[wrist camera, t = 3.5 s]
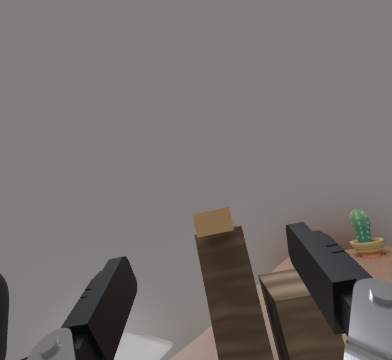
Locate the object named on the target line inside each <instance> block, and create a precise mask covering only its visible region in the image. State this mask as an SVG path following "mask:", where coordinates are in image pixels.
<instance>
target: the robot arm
mask: <svg viewBox="0 0 392 360" xmlns="http://www.w3.org/2000/svg"><path fill="white" fill-rule="evenodd" d="M286 234H287V242H288V250H289V256H290V259H291V262H292V264H293V266H294V268H295V269H296V271H297V273H298V274H299V276H300V278H301V279H302V281H303V283H304V284H305V286H306V288H307V289H308V291H309V293H310V294H311V296H312V298H313V299H314V301H315V303H316V304H317V306H318V308H319V309H320V311H321V313H322V314H323V316H324V318H325V319H326V321H327V323H328V324H329V326H330V328H331V329H332V331H333V333H334V334H335V335H336V334H343V333H346V335H347V336H348V341H346V344H345V351H344V359H343V360H392V283H390V282H388V281H384V280H381V279H374V278H373V277H372V276H371V275H370V274H369V273H368V272H366V271H365V270H364V269H363V268H362V267H361V266H360V265H359V264H358V263H357V262H356V261H355V260H354V259H353V258H352V257H351V256H350V255H349V254H348V253H347V252H345V251H344V249H343V248H342V247H341V246H339V245H338V244H337V243H336V242H335V241H334V240H333V239H332V238H331V237H330V236H329V235H327V234H324V233H323V232H321V231H313V232H312V231H311V229H310V228H308V226H307V225H306V224H305V223H304V222H300V223H295V224H290V225H286ZM8 292H9V291H8V287H7V283H6V281H5V279H4V278H3V276H2V275H1V274H0V360H5V357H6V350H7V329H8V313H9V293H8ZM136 293H137V281H136V278H135V276H134V273H133V271H132V268H131V266H130V263H129V261H128V259H127V257H125V256H124V257H119V258H114V259H110V260H109V261H108V262H107V264H106V266H105V267H104V269H103V270H102V271H100V272H99V273H98V274H97V275H96V276H95V277H94V278H93V279H92V280H91V281H90V283H89V285H88V286H87V288H86V289H85V291H84V292H83V294H82V296H81V297H80V299H79V300H78V302H77V303H76V305H75V306H74V308H73V310H72V311H71V313H70V314H69V316H68V317H67V319H66V321H65V322H64V324H63V325H62V327H61V329H57V330H55V331H53V332H51V333H50V334H48V335H47V336H45V337H44V338H43V339H42V340H41V341H40V342H39V343H38V344H37V345H36V346H35V347H34V348H33V349H32V351H31V352H30V354H29V356H28V357H26V358H24V359H21V360H114V357H115V354H116V351H117V348H118V345H119V342H120V339H121V336H122V334H123V331H124V328H125V325H126V322H127V319H128V316H129V313H130V311H131V308H132V305H133V302H134V299H135V296H136Z"/></svg>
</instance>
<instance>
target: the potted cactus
mask: <svg viewBox="0 0 392 360" xmlns="http://www.w3.org/2000/svg"><path fill="white" fill-rule="evenodd" d="M349 220H350V222H351V225H352V226H353V228H354V229H355V232H356V236H357V240H353V241H350V244H351V245H352V246H353V247H354V248H355V249H356V251H357V252H359V253H360V254H361V257H364V258H372V257H379V256H381V251H382V247H383V242H384V239H383V238H371V235H370V220H369V216H368V215H367V214H366V213H365V212H363V211H362V210H361V209H359V210H352V211H351V213H350V216H349Z"/></svg>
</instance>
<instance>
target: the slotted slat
mask: <svg viewBox="0 0 392 360" xmlns="http://www.w3.org/2000/svg"><path fill="white" fill-rule="evenodd" d="M193 218H194V224H195V229H196V234H197V238H198V237H203V236H208V235H213V234H218V233H223V232H228V231H233V230H234V227H233V223H232V219H231V215H230V210H229V207H226V208H221V209H216V210H212V211H207V212H202V213H197V214H193Z"/></svg>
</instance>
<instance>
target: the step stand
mask: <svg viewBox="0 0 392 360" xmlns="http://www.w3.org/2000/svg"><path fill="white" fill-rule="evenodd" d="M233 227H234V230H233V231H228V232H223V233H218V234H213V235H208V236H203V237H198V238H197V234H196V235H195V240H196V244H197V250H198V255H199V260H200V265H201V270H202V276H203V281H204V286H205V291H206V296H207V301H208V307H209V312H210V317H211V322H212V328H213V333H214V338H215V343H216V348H217V353H218V359H219V360H274V359H273V355H272V351H271V346H270V342H269V338H268V334H267V330H266V326H265V322H264V318H263V313H262V309H261V305H260V301H259V297H258V293H257V289H256V285H255V281H254V276H253V272H252V268H251V264H250V260H249V256H248V252H247V247H246V244H245V239H244V235H243V231H242V227H241V226H240V225H233ZM259 281H260V285H261V289H262V293H263V297H264V301H265V305H266V309H267V313H268V317H269V321H270V325H271V329H272V333H273V337H274V341H275V345H276V349H277V353H278V357H279V360H343V359H344V351H345V344H344V341H343V338H342V335H341V334H336V335H335V334H334V333H333V331H332V329H331V328H330V326H329V324H328V323H327V321H326V319H325V318H324V316H323V314H322V313H321V311H320V309H319V308H318V306H317V304H316V303H315V301H314V299H313V298H312V296H311V294H310V293H309V291H308V289H307V288H306V286H305V284H304V283H303V281H302V279H301V278H300V276H299V274H298V273H297V271H296V270H294V269H291V270H286V271H280V272H275V273H269V274H264V275H259Z"/></svg>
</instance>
